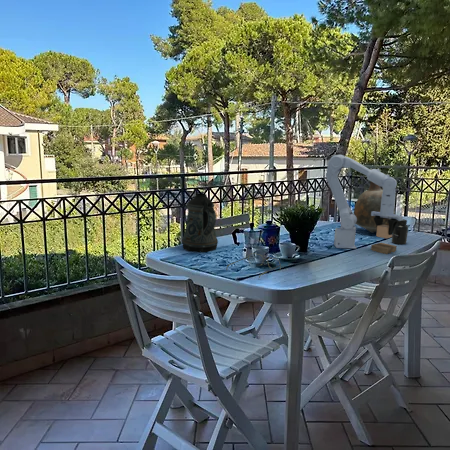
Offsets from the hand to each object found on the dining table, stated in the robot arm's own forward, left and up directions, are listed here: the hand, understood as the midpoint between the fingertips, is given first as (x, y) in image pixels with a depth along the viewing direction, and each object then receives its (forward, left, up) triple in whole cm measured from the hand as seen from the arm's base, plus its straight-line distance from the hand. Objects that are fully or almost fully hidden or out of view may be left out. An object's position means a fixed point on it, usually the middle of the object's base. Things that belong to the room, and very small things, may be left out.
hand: (384, 233), depth 196 cm
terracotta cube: (0, 0, -2) cm, 2 cm away
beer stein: (-83, -10, -9) cm, 84 cm away
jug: (+4, +40, -9) cm, 41 cm away
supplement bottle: (+12, +18, -9) cm, 23 cm away
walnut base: (0, +1, -9) cm, 9 cm away
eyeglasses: (-59, -38, -9) cm, 71 cm away
